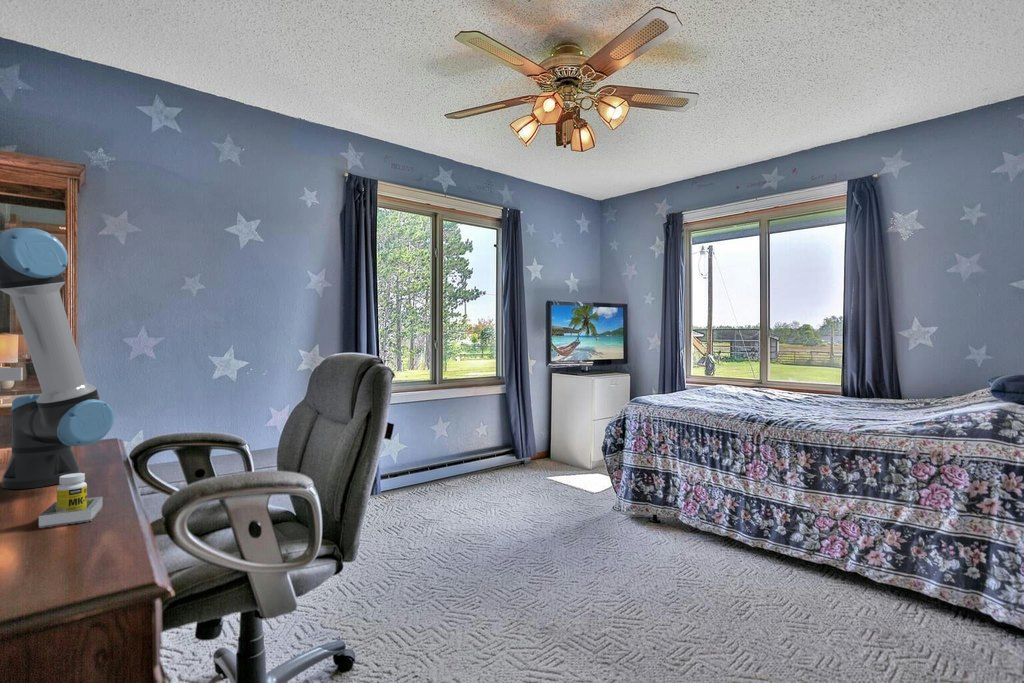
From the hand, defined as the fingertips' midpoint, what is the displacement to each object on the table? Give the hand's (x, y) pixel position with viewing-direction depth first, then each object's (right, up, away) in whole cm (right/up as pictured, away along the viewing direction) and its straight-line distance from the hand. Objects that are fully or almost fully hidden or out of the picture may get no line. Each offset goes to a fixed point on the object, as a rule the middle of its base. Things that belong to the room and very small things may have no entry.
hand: (9, 375), depth 100 cm
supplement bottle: (+9, -30, +4) cm, 31 cm away
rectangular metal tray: (+9, -30, +5) cm, 32 cm away
